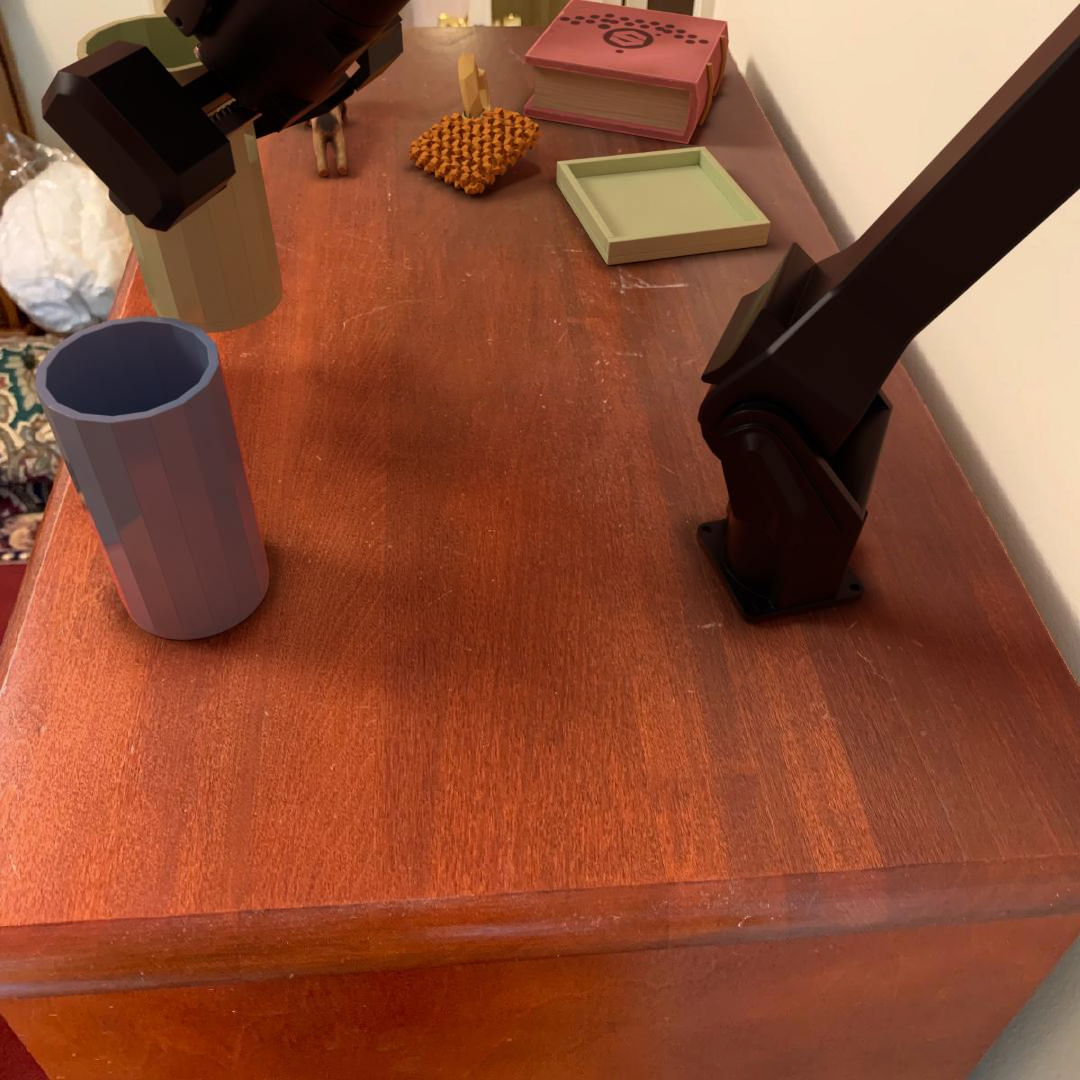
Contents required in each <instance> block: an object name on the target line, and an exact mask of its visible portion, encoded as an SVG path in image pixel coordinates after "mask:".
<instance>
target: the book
mask: <svg viewBox="0 0 1080 1080" xmlns="http://www.w3.org/2000/svg"><path fill="white" fill-rule="evenodd" d="M729 44H730V38H729V27H728V21H727V20H721V19H715V18H708V17H703V16H702V17H701V16H694V15H687V14H681V13H674V12H668V11H660V10H652V9H647V8H639V7H634V6H633V7H632V6H626V5H621V4H620V5H619V4H613V3H606V2H600V1H593V0H569V1H568V3H566V5H565V7H563V9H561V11H560V12H559V14H557V16H556V17H555V18H554V19H553V20H552V22H551V23H550V25H548V27H547V28H546V29H545V31H544V32H543V33H542V34H541V35H540V36H539V37H538V39H537V40H536V41H535V43H534V44H532V46H531V47H530V48H529V49H528V51H527V52H526V53H525V54H524V65H526V66H532V69H533V74H534V84H533V85H534V86H533V89H534V90H533V94H532V96H531V97H530V98H529V100H528V101H527V103H525V105H524V106H523V108H522V109H523V110H522V111H523V113H522V117H526V116H527V117H528V118H532V119H538V120H545V121H549V122H550V121H552V122H556V123H563V124H567V125H574V126H579V127H585V128H591V129H597V130H602V131H603V130H604V131H610V132H614V133H621V134H627V135H632V136H639V137H643V138H651V139H655V140H660V141H661V140H662V141H668V142H674V143H680V144H686V145H689V142H690V140H691V139H692V136H693V134H694V132H695V130H696V127H697V125H698V126H702V125H703V124H704V121H705V119H706V118H707V115H708V112H709V111H710V108H711V105H712V101H713V97H715V96H716V95H717V94H718V91H719V88H720V87H721V84H722V81H723V79H724V77H725V71H726V66H727V59H728V55H727V54H728V49H729Z"/></svg>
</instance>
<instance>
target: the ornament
mask: <svg viewBox="0 0 1080 1080" xmlns="http://www.w3.org/2000/svg"><path fill="white" fill-rule="evenodd" d="M476 60H477V59H476V54H472V53H467V52H462V54H461V55H460V57H459V58H458V59H457V70H458V84H459V88H460V94H461V97H462V98H461V99H462V104H463V108H464V110H463V112H462V114H459V113H457V112H456V111H455V112H453V114H452V115H451V116H450V117H449V115H448V114H446V115H444V116H443V117H442V118H441V119H440V123H441V124H438V123H437V122H435V123H434V124H433V125H432V127H430V128H429V129H428V131H424V132H423V134H420V136H419V137H418V138H417V140H415V141H412V142H411V143H410V150H409V151H408V158H409V161H414V162H415V167H417V168H419V169H423V171H424V172H426V173H428V174H432V173H434V178H436V179H437V180H442V179H443V178H444V183H445V184H448V185H451V184H452V183H454V188H455V189H457V190H461V189H464V192H465V194H467V195H475V194H477V193H479V194H482V193H483V192H484V190H485V189H486V188H485V184H489V185H490V186H491V185H493V184H494V182H495V181H496V175H500V176H503V175H504V174H505V173H506V171H507V166H508V167H509V166H510V167H511V168H512V167H514V165H515V164H516V163H517V159H518V158H519V159H521V158H524V157H525V156H526V155H527V149H530V150H532V151H533V150H535V148H536V147H537V145H538V144H537V143H538V142H537V140H539V139H541V138H542V133H541V132H540V126H539V124H538V123H537V122H534V120H532V119H531V117H527V116H523V115H521V114H520V113H518V112H517V111H514V110H506V109H504V108H503V107H497V106H495V108H494V110H492V103H491V93H490V87H489V82H488V78H487V73H486V70H485V69H482V68H479V67H478V64H477V61H476ZM513 123H514V124H513Z"/></svg>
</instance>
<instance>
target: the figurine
mask: <svg viewBox="0 0 1080 1080" xmlns="http://www.w3.org/2000/svg"><path fill="white" fill-rule="evenodd" d="M310 122H311V129H312V144H313V149H314V154H315V157H316V164H317V165H316V167H317V172H318V174H319V176H320V177H326V176H328V175H329V172H330V171H329V169H330V168H329V163H328V158H327V157H328V152H327V150H328V143H330V145H331V148H332V151H333V154H334V157H335V162H336V163H335V164H336V170H337V173H339V175H342V176H346V175H347V174H348V161H347V160H348V159H347V149H346V141H345V136H344V132H343V128H342V123H343V124H346V125H347V124H348V123H349V117H348V104H347V101H346V100H345V101H344V102H342V103H341V104H340V105H338V106H337V107H336V108H334V109H333V110H331V111H330V112H329V113H327V114H324V115H322V116H319V117H316V118H313V119H311V120H308V121H305V122H303V124H304V126H308V125H310Z"/></svg>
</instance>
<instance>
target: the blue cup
mask: <svg viewBox="0 0 1080 1080" xmlns="http://www.w3.org/2000/svg"><path fill="white" fill-rule="evenodd" d="M219 351H220V350H219V348H218V345H217V343H216V342H215V341H214V340H213V339H212V338H211V337H210V335H208V333H205V332H204V331H203V330H202V329H201V328H199V327H196V326H194V325H191V324H188V323H186V322H183V321H181V320H178V319H174V318H164V317H158V316H151V315H138V316H131V317H123V318H114V319H109V320H106V321H103V322H100V323H97V324H95V325H92V326H88V327H85V328H83V329H80V330H78V331H76V332H74V333H73V334H71V335H69V336H67V338H65V339H63V340H62V341H60V342H58V343H57V344H56V345H54V346H53V347H52V348H51V349H50V350H49V351H48V353H47V354H46V355H45V356H44V358H43V359H42V361H41V362H40V363H39V365H37V367H36V370H35V371H36V372H35V383H34V385H35V386H34V389H35V393H36V395H37V399H38V400H39V403H40V405H41V407H42V411H43V413H44V415H45V418H46V420H47V423H48V425H49V427H50V430H51V432H52V434H53V438H54V439H55V442H56V444H57V447H58V449H59V452H60V454H61V456H62V458H63V462H64V464H65V467H66V469H67V472H68V474H69V476H70V479H71V481H72V484H73V486H74V488H75V491H76V493H77V496H78V498H79V501H80V504H81V505H82V508H83V511H84V513H85V515H86V517H87V521H88V523H89V525H90V527H91V530H92V532H93V535H94V537H95V540H96V542H97V545H98V547H99V550H100V552H101V555H102V558H103V559H104V562H105V565H106V567H107V569H108V571H109V574H110V577H111V579H112V582H113V584H114V586H115V589H116V592H117V593H118V596H119V599H120V601H121V603H122V604H123V606H124V607H125V609H126V612H127V615H128V616H129V617H130V619H131V620H132V621H133V623H134V624H135V625H137V626H138V627H139V628H140V629H142V630H144V631H145V632H147V633H149V634H152V635H153V636H156V637H160V638H163V639H168V640H169V639H170V640H176V641H177V640H178V641H189V640H198V639H204V638H208V637H212V636H215V635H217V634H221V633H224V632H226V631H227V630H229V629H232V628H233V627H235V626H236V625H238V624H240V623H242V622H243V621H244V620H246V619H247V618H249V617H250V615H251V614H252V613H254V611H255V610H257V608H258V607H259V606H260V604H261V603H262V601H263V600H264V598H265V596H266V594H267V592H268V589H269V585H270V578H271V577H270V576H271V574H270V568H269V563H268V558H267V551H266V547H265V543H264V538H263V535H262V530H261V526H260V522H259V518H258V513H257V509H256V504H255V499H254V496H253V492H252V488H251V483H250V479H249V475H248V470H247V467H246V462H245V457H244V454H243V450H242V445H241V441H240V437H239V433H238V429H237V423H236V420H235V415H234V412H233V411H234V410H233V407H232V402H231V398H230V394H229V389H228V386H227V381H226V377H225V373H224V369H223V364H222V361H221V356H220V352H219Z"/></svg>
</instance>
